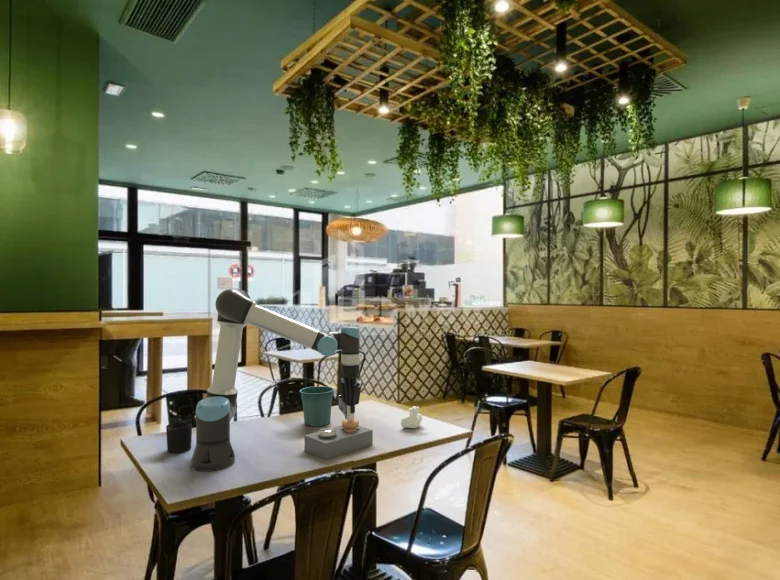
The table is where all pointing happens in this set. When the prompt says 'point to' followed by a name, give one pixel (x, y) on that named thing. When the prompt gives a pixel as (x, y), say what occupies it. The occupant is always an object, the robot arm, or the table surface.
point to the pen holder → (179, 437)
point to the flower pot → (317, 405)
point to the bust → (412, 418)
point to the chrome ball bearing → (327, 433)
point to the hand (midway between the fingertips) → (350, 420)
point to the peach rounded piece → (350, 425)
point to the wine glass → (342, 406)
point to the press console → (338, 442)
